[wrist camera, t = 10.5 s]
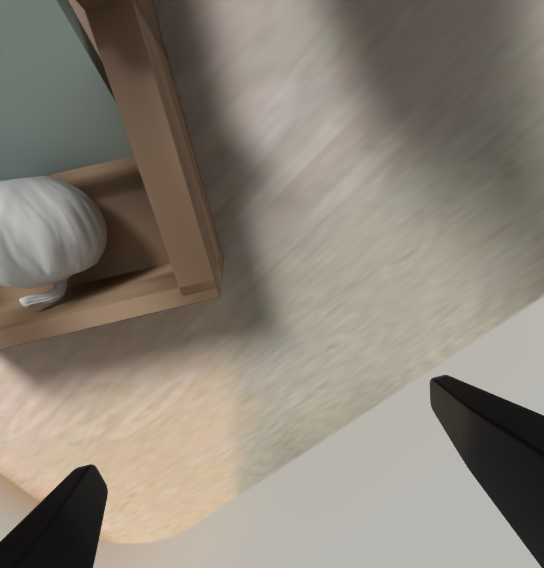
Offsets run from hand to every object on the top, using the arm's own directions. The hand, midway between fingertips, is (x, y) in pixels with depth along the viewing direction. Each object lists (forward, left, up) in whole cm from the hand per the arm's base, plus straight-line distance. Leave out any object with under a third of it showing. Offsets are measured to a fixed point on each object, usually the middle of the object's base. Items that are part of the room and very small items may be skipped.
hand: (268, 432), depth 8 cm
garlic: (+9, -8, -8) cm, 14 cm away
